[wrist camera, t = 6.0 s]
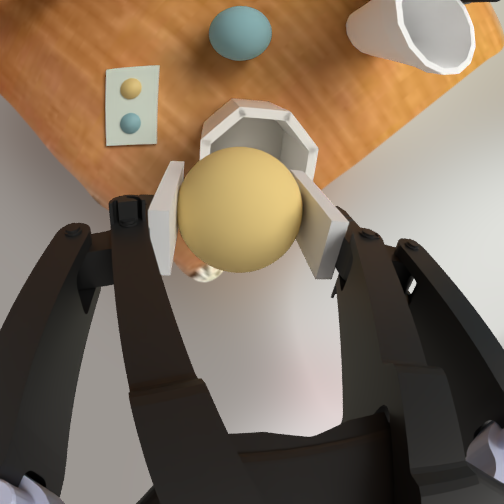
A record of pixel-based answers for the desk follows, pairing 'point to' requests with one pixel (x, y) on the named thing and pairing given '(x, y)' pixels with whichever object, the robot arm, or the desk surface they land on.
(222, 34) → the ball teal
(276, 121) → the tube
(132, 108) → the card
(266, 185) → the ball ochre
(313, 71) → the desk surface
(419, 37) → the foam cup
